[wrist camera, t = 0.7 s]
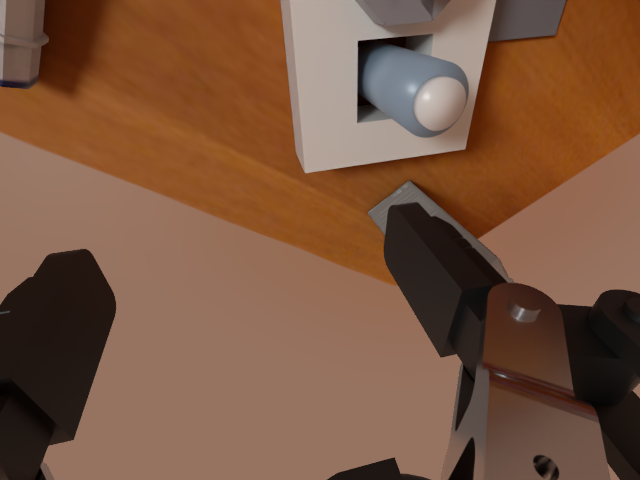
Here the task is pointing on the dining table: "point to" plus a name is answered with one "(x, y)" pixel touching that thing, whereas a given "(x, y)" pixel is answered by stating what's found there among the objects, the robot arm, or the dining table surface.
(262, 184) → the dining table surface
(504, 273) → the skincare box
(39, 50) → the grey elongated piece
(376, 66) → the cartridge
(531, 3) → the mat
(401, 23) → the housing
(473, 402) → the robot arm
